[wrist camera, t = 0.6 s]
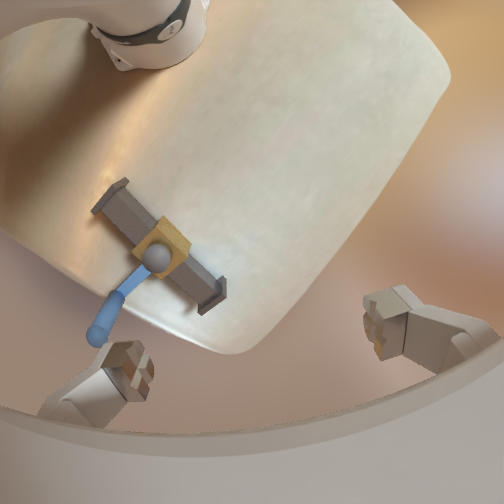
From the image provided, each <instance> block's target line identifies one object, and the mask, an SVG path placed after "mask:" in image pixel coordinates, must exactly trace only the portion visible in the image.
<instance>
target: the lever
mask: <svg viewBox="0 0 504 504" xmlns="http://www.w3.org/2000/svg"><path fill="white" fill-rule="evenodd" d="M170 261H171V252H170V250H169V249H168V247H167V246H165V245H164V244H161V243H152V244H150V245H149V246H148V247H147V248H146V250H145V252H144V253H143V256H142V263H141V264H140V265H139V266H138V267H137V268H136V269H135V270H134V271H133V272H132V273H131V274H130V275H129V276H128V277H127V278H126V279H125V280H124V281H123V282H122V283H121V284H120V285H119V286H118V287H117V288H116V289H115V290H112V291H111V292H110V293H109V295H108V297H107V298H106V300H105V302H104V304H103V306H102V307H101V309H100V311H99V313H98V315H97V316H96V318H95V320H94V322H93V324H92V325H91V327H90V328H89V329H88V330H87V333H86V338H87V341H88V343H89V344H90V345H91V346H93V347H95V348H101V347H102V346H103V344H104V343H107V341H108V335H109V333H110V331H111V329H112V327H113V324H114V322H115V320H116V318H117V316H118V314H119V312H120V310H121V307H122V305H123V303H124V301H125V297H126V296H127V295H128V294H129V293H130V292H131V291H132V290H133V289H134V288H135V287H137V286H138V285H139V284H140V283H141V282H142V281H143V280H144V279H145V278H146V277H147V276H148V275H149V274H151V273H162V272H164V271H166V270H167V268H168V267H169V264H170Z"/></svg>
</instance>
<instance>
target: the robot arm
mask: <svg viewBox="0 0 504 504" xmlns="http://www.w3.org/2000/svg"><path fill="white" fill-rule="evenodd" d="M209 5H210V0H0V40H1V39H3V38H4V37H6V36H8V35H10V34H11V33H13V32H15V31H18V30H20V29H22V28H24V27H27V26H30V25H33V24H36V23H39V22H43V21H47V20H52V19H59V18H79V19H82V20H84V21H87V22H89V23H91V24H92V26H93V29H92V30H91V33H92V34H93V35H94V36H95V37H96V38H97V39H98V38H100V40H101V43H102V45H103V46H104V47H105V49H106V51H107V53H108V54H109V56H110V58H111V60H112V61H113V63H114V65H115V67H116V68H117V69H118V70H119V71H122V72H123V71H129V70H132V69H135V68H144V69H162V68H166V67H170V66H173V65H175V64H177V63H179V62H181V61H183V60H184V59H186V58H187V57H189V56H190V55H191V54H192V53H193V52H194V51H195V50H196V49H197V48H198V46H199V45H200V44H201V42H202V40H203V38H204V35H205V32H206V12H207V10H208V8H209ZM119 59H121V61H120V62H119ZM363 306H364V308H365V310H366V313H365V314H364V316H363V323H364V329H365V333H366V335H367V337H368V339H369V341H371V342H373V343H374V350H375V352H376V354H377V355H378V357H379V359H380V361H384V360H387V359H390V358H393V357H396V356H399V355H402V354H403V356H405V357H407V358H409V359H410V360H412V361H414V362H416V363H417V364H419V365H421V366H423V367H424V368H426V369H428V370H430V371H432V372H434V373H435V374H437V375H436V376H433V377H431V378H429V379H427V380H424V381H422V382H420V383H417V384H415V385H413V386H410V387H408V388H406V389H403V390H400V391H398V392H395V393H393V394H390V395H387V396H384V397H382V398H379V399H376V400H373V401H370V402H367V403H364V404H360V405H357V406H354V407H351V408H347V409H344V410H340V411H336V412H332V413H329V414H325V415H320V416H316V417H312V418H307V419H303V420H298V421H293V422H287V423H282V424H276V425H270V426H264V427H256V428H248V429H240V430H229V431H217V432H200V433H146V432H130V431H118V430H109V429H104V428H105V427H106V426H107V425H108V424H109V422H110V421H111V420H112V419H113V418H114V417H115V416H116V415H117V414H118V413H119V411H120V410H121V409H122V408H123V407H124V406H125V405H126V404H127V402H144V401H146V399H147V395H148V392H149V389H150V388H149V386H148V384H149V383H150V382H151V381H152V380H153V377H154V366H153V363H152V360H151V359H150V357H149V356H147V355H146V354H144V349H145V348H144V346H143V345H142V343H141V342H140V341H139V340H128V341H117V342H107V343H104V344H103V346H102V348H101V349H100V351H99V353H98V354H97V356H96V358H95V359H94V361H93V363H92V364H91V366H90V368H87V369H85V370H83V371H82V372H81V373H79V374H78V375H77V376H75V377H74V378H72V379H71V380H70V381H68V382H67V383H66V384H64V385H63V386H61V387H60V388H59V389H57V390H56V391H54V392H53V393H52V394H51V395H49V396H48V397H47V398H46V400H45V401H44V403H43V404H42V406H41V408H40V410H39V411H38V414H37V415H36V416H34V415H30V414H26V413H23V412H20V411H17V410H13V409H10V408H7V407H4V406H1V405H0V504H504V337H503V338H501V337H500V336H499V335H498V334H497V333H496V332H495V331H494V330H493V329H492V328H491V327H490V326H489V325H488V324H487V323H486V322H485V321H484V320H481V319H478V318H474V317H471V316H467V315H463V314H460V313H457V312H453V311H450V310H446V309H443V308H439V307H436V306H432V305H429V304H428V305H426V306H425V305H424V304H423V303H422V302H421V301H420V300H419V299H418V298H417V297H416V296H415V295H414V294H413V293H412V292H411V291H410V290H409V289H408V288H407V287H406V286H405V285H404V284H398V285H396V286H393V287H390V288H388V289H384V290H381V291H378V292H375V293H371V294H368V295H364V298H363Z"/></svg>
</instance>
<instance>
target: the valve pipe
mask: <svg viewBox="0 0 504 504" xmlns="http://www.w3.org/2000/svg"><path fill="white" fill-rule="evenodd" d="M128 182H129V180H128V179H127V178H126V177H125V178H123V179H121V180H119V181H118V182H116V183H114V184H112V185H111V187H110V188H109V189H108V190H107V191H106V193H105V194H104V195H103V196H102V197H101V199H100V200H99V201H98V202H97V204H96V205H95V206H94V207H93V209H92V210H91V211H90V212H91V213H92V214H93V215H94V216H95V215H96V214H97V213H98V212H100V211H102V212H103V213H104V214H105V215H106V216H107V217H108V218H109V219H110V220H111V221H112V222H113V223H114V224H115V225H116V226H117V227H118V228H119V229H120V230H121V231H122V232H123V233H124V234H125V235H126V236H127V237H128V238H129V239H130V240H131V241H132V242H133V243H134V244H135V247H134V248H133V249H132V251H131V252H132V253H133V254H134V255H135V256H136V257H137V258H138V259H139V260H140V261H141V262H142V256H143V253H144V252H145V250H146V248H147V247H148V246H149V245H150V244H152V243H161V244H164V245H165V246H167V247H168V249H169V250H170V252H171V261H170V264H169V267H168V268H167V270H166V271H164V272H162V273H154V274H155V275H156V276H157V277H158V278H159V279H160V280H162V279H163V278H165V277H166V276H168V277H169V278H170V279H172V280H173V281H174V282H175V283H176V284H177V285H178V286H179V287H180V288H182V289H183V290H184V291H185V292H186V293H187V294H188V295H189V296H191V297H192V298H193V299H194V300H195V301H196V302H197V303H198V311H197V313H198V314H200V315H201V316H202V315H203V314H205V313H206V312H207V311H209V310H210V309H212V308H213V307H214V306H216V305H217V304H218V303H220V302H221V301H223V300H224V299H225V298H227V294H226V278H225V277H224V276H222V277H221V278H219V279H218V280H216V279H215V278H214V277H213V276H212V275H211V274H210V273H209V272H208V271H207V270H206V269H205V268H204V267H203V266H202V265H201V264H200V263H199V262H198V261H197V260H196V259H195V258H194V257H192V256H191V255H190V254H189V250H190V247H191V243H190V242H189V241H188V240H187V239H186V238H185V237H184V236H183V235H182V234H181V233H180V232H179V231H178V230H177V229H176V227H175V226H174V225H173V224H172V223H171V222H170V221H169V220H168V219H167V218H166V217H165V216H164V215H163V216H162V217H161V218H160V219H159V220H158V221H156V220H155V219H154V218H153V217H152V216H151V215H150V213H149V212H148V211H147V210H146V209H145V208H144V207H143V206H142V205H141V204H140V203H139V202H138V201H137V200H136V199H135V198H134V197H133V196H132V195H131V194H130V193H129V192H128V191H127V189H126V188H125V187H124V186H125V185H126V184H127V183H128Z"/></svg>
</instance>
